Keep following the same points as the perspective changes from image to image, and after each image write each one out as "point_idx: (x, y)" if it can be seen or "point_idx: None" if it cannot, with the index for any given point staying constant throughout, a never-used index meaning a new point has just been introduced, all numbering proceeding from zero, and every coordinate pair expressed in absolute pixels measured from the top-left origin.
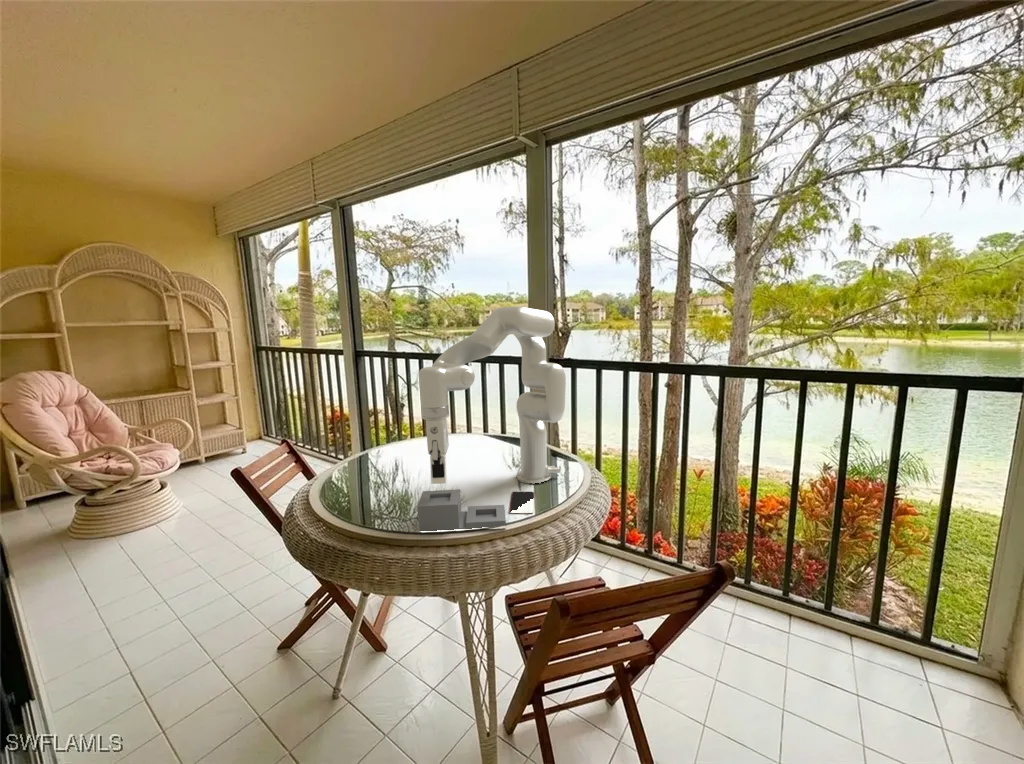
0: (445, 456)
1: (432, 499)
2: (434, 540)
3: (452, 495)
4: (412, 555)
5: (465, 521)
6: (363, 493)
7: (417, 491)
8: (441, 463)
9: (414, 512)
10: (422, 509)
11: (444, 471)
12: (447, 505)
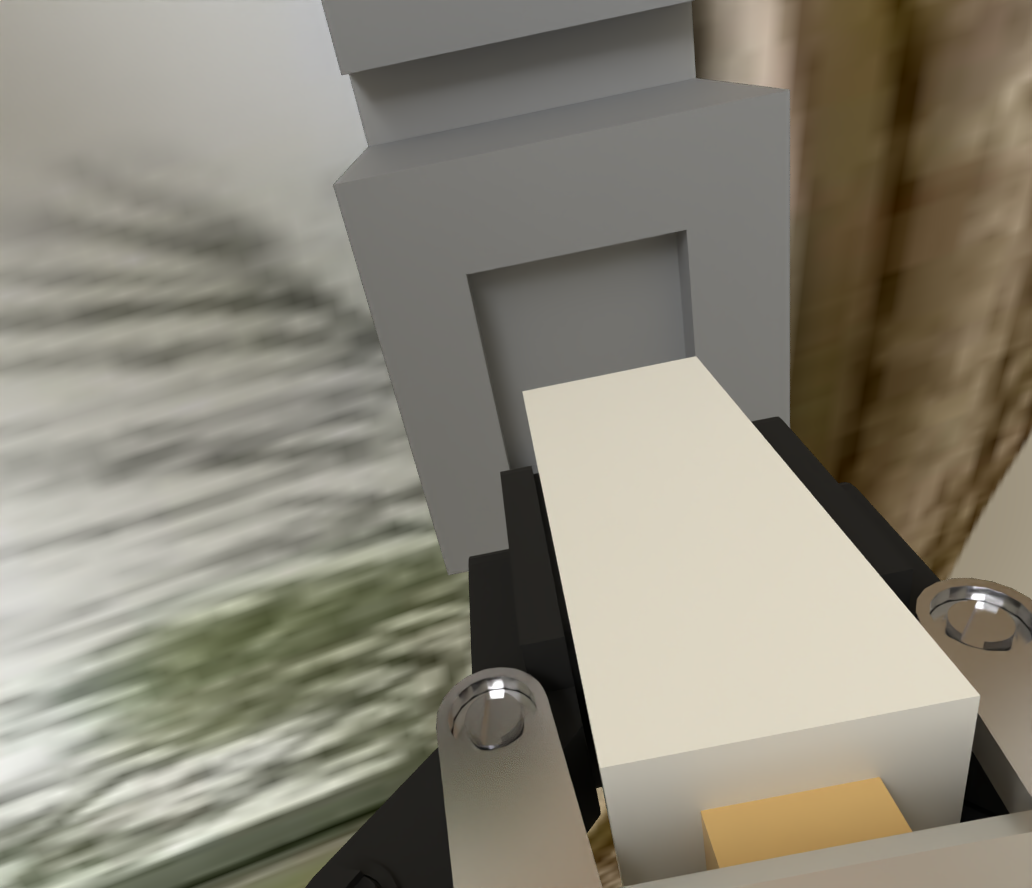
0: (712, 670)
1: None
2: (809, 253)
3: (528, 238)
4: (980, 340)
5: (567, 43)
6: (205, 872)
7: (50, 626)
8: (1023, 610)
9: (397, 528)
10: None
11: (775, 458)
12: (788, 223)
